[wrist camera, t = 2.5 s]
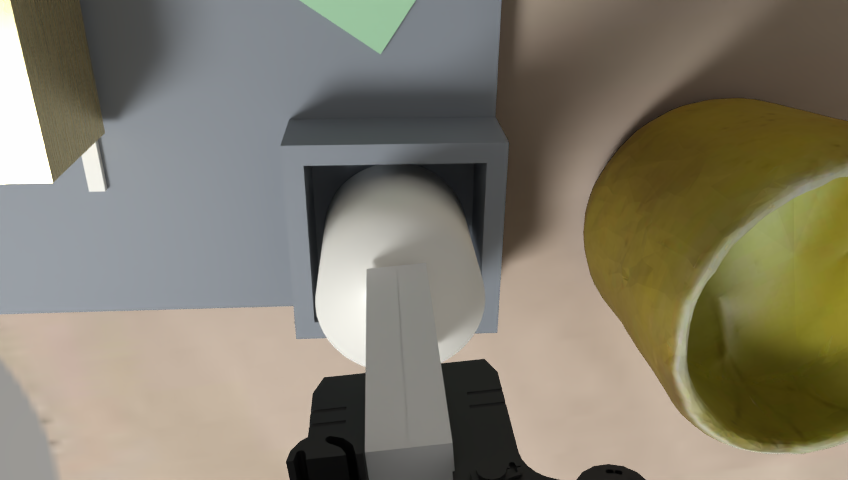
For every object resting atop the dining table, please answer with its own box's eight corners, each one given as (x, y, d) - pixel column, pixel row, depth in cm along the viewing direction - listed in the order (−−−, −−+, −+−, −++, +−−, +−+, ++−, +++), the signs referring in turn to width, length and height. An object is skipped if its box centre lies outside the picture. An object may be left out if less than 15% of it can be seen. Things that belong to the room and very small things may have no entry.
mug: (526, 375, 27) (706, 515, 17) (551, 89, 25) (762, 69, 16) (796, 365, 30) (1068, 475, 21) (831, 114, 29) (1140, 110, 19)
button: (321, 164, 22) (310, 228, 18) (467, 161, 22) (489, 224, 18) (328, 291, 24) (320, 375, 20) (462, 287, 24) (481, 369, 20)
